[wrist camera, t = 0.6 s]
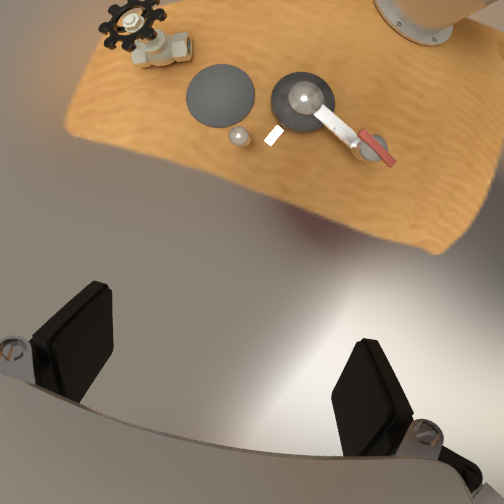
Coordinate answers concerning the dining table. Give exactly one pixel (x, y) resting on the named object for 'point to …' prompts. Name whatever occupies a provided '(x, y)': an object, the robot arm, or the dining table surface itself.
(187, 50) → the valve
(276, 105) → the crank housing
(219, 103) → the mat
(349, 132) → the crank
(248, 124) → the dining table surface
